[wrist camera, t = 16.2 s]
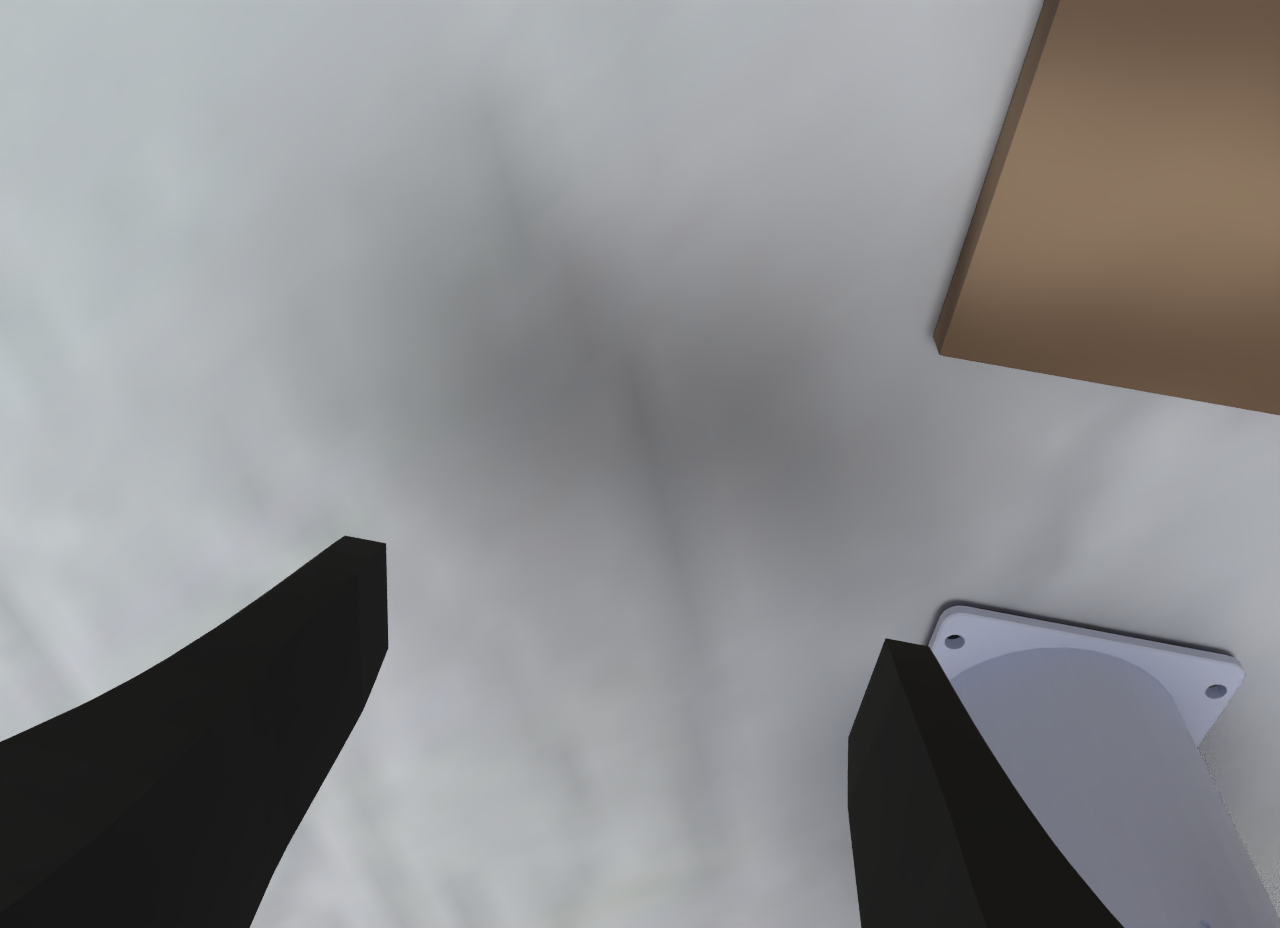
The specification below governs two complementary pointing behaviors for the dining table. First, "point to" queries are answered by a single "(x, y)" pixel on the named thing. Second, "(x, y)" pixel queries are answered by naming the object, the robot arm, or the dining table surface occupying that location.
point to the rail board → (1134, 205)
